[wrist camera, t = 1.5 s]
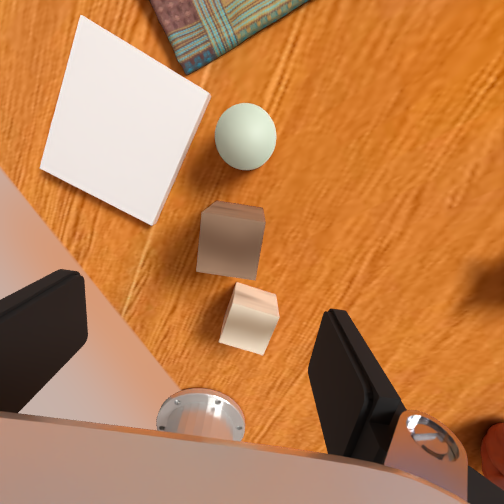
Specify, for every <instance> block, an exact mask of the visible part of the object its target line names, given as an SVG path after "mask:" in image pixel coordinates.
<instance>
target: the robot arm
mask: <svg viewBox="0 0 504 504" xmlns="http://www.w3.org/2000/svg"><path fill="white" fill-rule="evenodd" d="M87 337H88V330H87V314H86V300H85V284H84V278H83V276H80V273H79V272H77V271H70V270H64V269H60V270H57V271H55V272H53V273H51V274H49V275H47V276H45V277H44V278H42V279H40V280H38V281H36V282H34V283H32V284H30V285H28V286H26V287H24V288H22V289H21V290H18V291H17V292H15V293H13V294H11V295H9V296H7V297H5V298H3V299H1V300H0V504H504V490H502V489H501V488H499V487H498V486H497V485H495V484H494V483H492V482H491V481H489V480H488V479H487V478H485V477H484V476H482V475H481V474H480V473H478V472H477V471H475V470H474V469H473V468H471V467H470V466H468V459H467V454H466V451H465V449H464V447H463V445H462V443H461V442H460V441H459V439H458V438H457V437H456V436H455V434H454V433H453V432H452V431H451V430H450V429H448V428H447V427H446V426H445V425H444V424H443V423H441V422H440V421H438V420H437V419H435V418H434V417H432V416H430V415H428V414H426V413H423V412H420V411H417V410H406V408H405V407H404V405H403V403H402V402H401V399H400V397H399V395H398V394H397V392H396V390H395V389H394V387H393V386H392V384H391V382H390V381H389V379H388V378H387V376H386V374H385V373H384V371H383V370H382V368H381V366H380V365H379V363H378V362H377V360H376V358H375V357H374V355H373V353H372V352H371V350H370V349H369V347H368V345H367V344H366V342H365V341H364V339H363V337H362V336H361V334H360V333H359V331H358V329H357V328H356V326H355V325H354V323H353V321H352V320H351V318H350V316H349V315H348V313H347V312H346V311H344V310H338V309H329V311H328V312H326V311H325V312H324V314H323V317H322V321H321V324H320V328H319V331H318V335H317V338H316V342H315V345H314V349H313V352H312V356H311V359H310V363H309V367H308V375H309V379H310V383H311V387H312V391H313V395H314V399H315V403H316V407H317V411H318V415H319V419H320V423H321V427H322V431H323V435H324V439H325V443H326V447H327V451H328V454H325V453H318V452H312V451H305V450H298V449H292V448H285V447H278V446H270V445H263V444H255V443H248V442H241V440H242V438H243V436H244V432H245V418H244V415H243V412H242V410H241V409H240V407H239V405H238V404H237V403H236V402H235V401H234V400H232V399H231V398H230V397H228V396H227V395H225V394H222V393H220V392H218V391H215V390H211V389H205V388H192V389H186V390H183V391H180V392H177V393H175V394H173V395H172V396H170V397H169V398H168V399H167V400H166V401H165V402H164V403H163V405H162V406H161V408H160V411H159V413H158V416H157V430H158V431H156V430H148V429H140V428H132V427H124V426H116V425H109V424H100V423H92V422H85V421H76V420H68V419H60V418H51V417H43V416H35V415H27V414H19V413H18V412H19V411H20V410H21V409H22V408H23V407H24V406H25V405H26V404H27V403H28V402H29V401H30V400H31V399H32V398H33V397H34V396H35V395H36V394H37V393H38V392H39V391H40V390H41V389H42V388H43V386H44V385H45V384H46V383H47V382H48V381H49V380H50V379H51V378H52V377H53V376H54V375H55V374H56V373H57V372H58V371H59V370H60V369H61V368H62V367H63V366H64V365H65V364H66V363H67V362H68V361H69V360H70V358H72V356H73V355H75V353H76V352H77V351H78V350H79V349H80V348H81V347H82V346H83V345H84V344H85V342H86V340H87Z"/></svg>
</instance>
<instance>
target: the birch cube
mask: <svg viewBox="0 0 504 504" xmlns="http://www.w3.org/2000/svg"><path fill="white" fill-rule="evenodd" d="M278 320H279V311H278V305H277V298H276V294H273V293H269V292H266V291H263V290H260V289H257V288H254V287H250V286H247V285H244V284H241V283H238V282H236V285H235V288H234V291H233V293H232V296H231V299H230V302H229V305H228V308H227V311H226V313H225V316H224V321H223V325H222V330H221V334H220V339H219V342H220V343H223V344H227V345H230V346H234V347H237V348H240V349H244V350H247V351H251V352H254V353H257V354H261V355H263V354H264V352H265V350H266V347H267V345H268V343H269V340H270V338H271V336H272V333H273V331H274V329H275V326H276V324H277V322H278Z"/></svg>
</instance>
